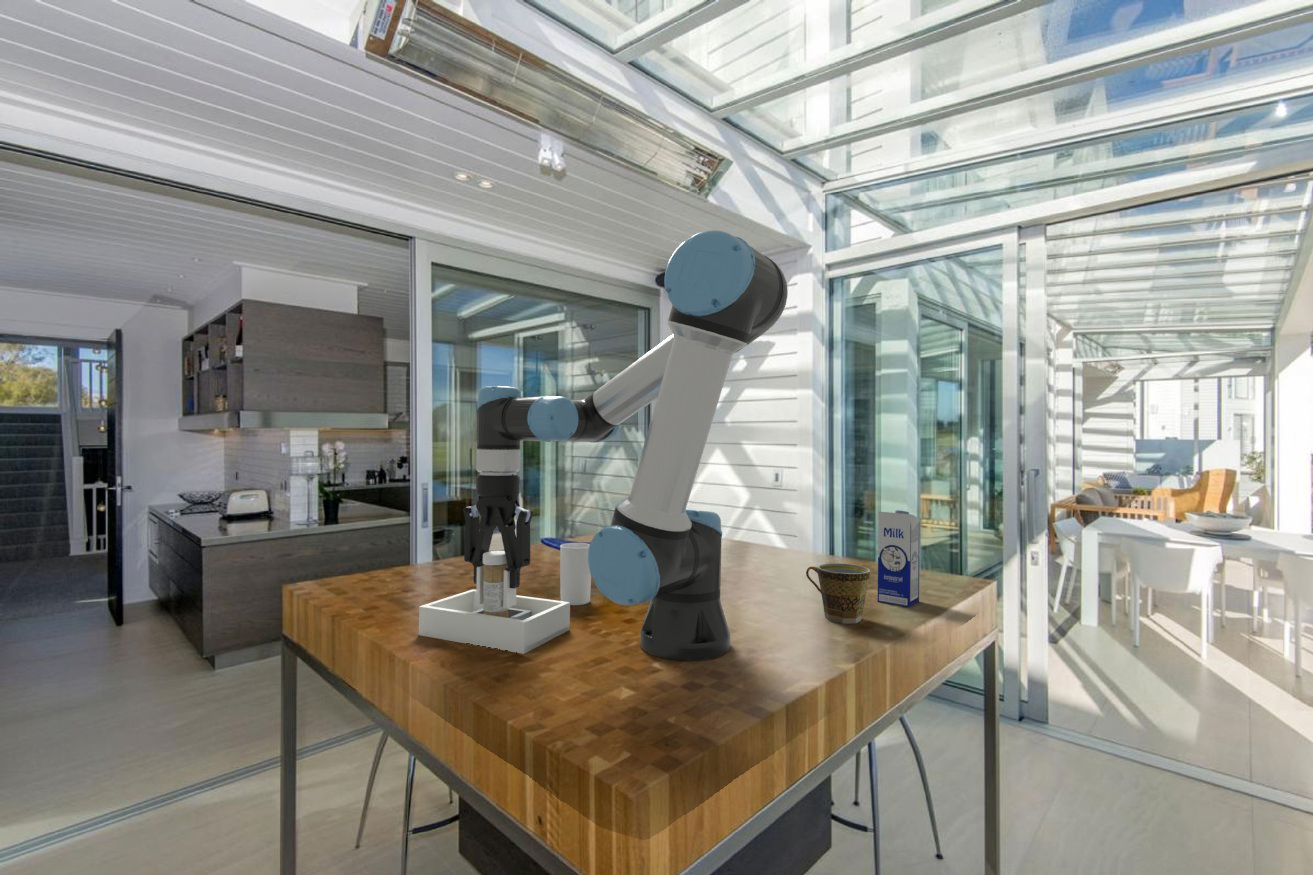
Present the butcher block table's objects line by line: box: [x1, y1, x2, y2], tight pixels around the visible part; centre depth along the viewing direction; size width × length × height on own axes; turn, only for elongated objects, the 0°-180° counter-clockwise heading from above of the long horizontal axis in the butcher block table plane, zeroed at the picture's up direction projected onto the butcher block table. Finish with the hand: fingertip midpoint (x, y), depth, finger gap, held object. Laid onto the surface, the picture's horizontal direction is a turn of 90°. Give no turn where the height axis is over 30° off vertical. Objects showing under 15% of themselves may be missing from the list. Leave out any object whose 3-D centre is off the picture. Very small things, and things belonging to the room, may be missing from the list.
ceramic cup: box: [805, 562, 871, 625], centre depth 122 cm, size 13×10×10 cm
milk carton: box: [877, 509, 921, 608], centre depth 135 cm, size 7×7×20 cm
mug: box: [559, 542, 592, 606], centre depth 133 cm, size 10×7×12 cm, turn 4°
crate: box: [418, 588, 571, 655], centre depth 109 cm, size 22×14×5 cm, turn 67°
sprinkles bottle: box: [483, 550, 509, 618], centre depth 109 cm, size 5×5×14 cm
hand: (496, 603), depth 109 cm, fingers open, 5 cm apart
